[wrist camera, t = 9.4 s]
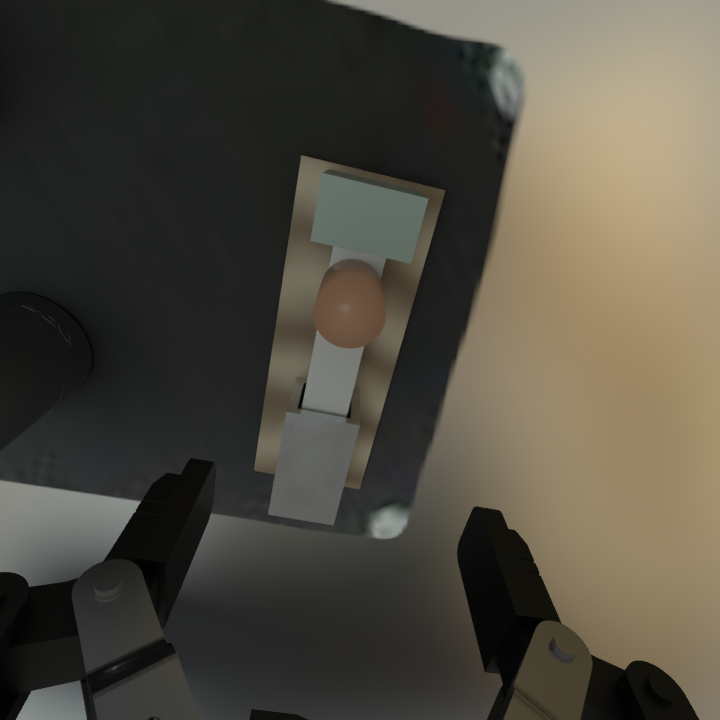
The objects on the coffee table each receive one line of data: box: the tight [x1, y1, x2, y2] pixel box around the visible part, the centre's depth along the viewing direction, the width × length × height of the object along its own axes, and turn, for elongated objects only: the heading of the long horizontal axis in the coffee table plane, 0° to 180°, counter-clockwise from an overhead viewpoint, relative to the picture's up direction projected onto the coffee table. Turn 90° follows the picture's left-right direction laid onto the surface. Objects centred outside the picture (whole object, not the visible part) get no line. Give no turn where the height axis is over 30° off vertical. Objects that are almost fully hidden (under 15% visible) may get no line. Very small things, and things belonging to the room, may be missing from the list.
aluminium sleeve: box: [268, 377, 360, 525], centre depth 36 cm, size 10×5×5 cm, turn 167°
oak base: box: [254, 155, 445, 489], centre depth 36 cm, size 27×10×1 cm, turn 167°
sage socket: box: [310, 169, 429, 264], centre depth 28 cm, size 4×6×6 cm, turn 77°
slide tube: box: [302, 246, 386, 418], centre depth 29 cm, size 17×4×8 cm, turn 167°
